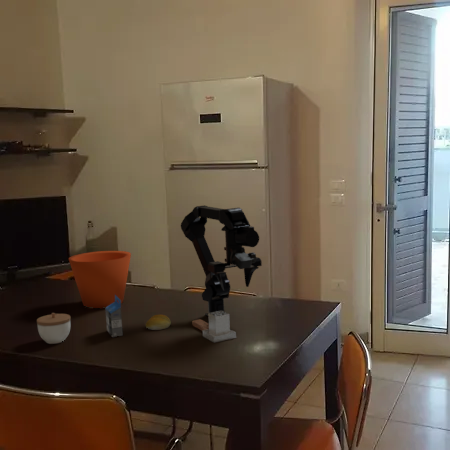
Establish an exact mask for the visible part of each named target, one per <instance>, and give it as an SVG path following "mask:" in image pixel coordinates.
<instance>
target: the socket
mask: <svg viewBox="0 0 450 450" xmlns="http://www.w3.org/2000/svg"><path fill="white" fill-rule="evenodd" d="M207 313H208V316H207V317H208V324H209V331H210V332H212V333H214V334H216V335H218V334H223V333H228V332H230V329H231V327H230V325H231V323H230V320H231V319H230V313H228V312H226V311H225V310H224V311H222V310H221V311H216V312H211V313H209V312H207Z"/></svg>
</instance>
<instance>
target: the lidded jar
mask: <svg viewBox="0 0 450 450" xmlns="http://www.w3.org/2000/svg"><path fill="white" fill-rule="evenodd" d="M36 324H37V325H36V326H37V331H38V334H39V337H40V338H41V339H42V340H43V341H44V342H45V343H46V344H49V345H53V344H60V343H63V342H65V341H66V339H67V337H68V336H69V334H70V331H71V328H72V327H71V315H70V314H67V313H56V312H51V314H47V315H43V316H40V317H38V318H37V319H36ZM64 340H65V341H64ZM62 341H63V342H62Z"/></svg>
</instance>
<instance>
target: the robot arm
mask: <svg viewBox="0 0 450 450" xmlns="http://www.w3.org/2000/svg"><path fill="white" fill-rule="evenodd" d="M208 219H210V220H215V221H219V224H222V225H223V227H222V228H221V230H220V231H222V232H224V234H225V235H224V236H225V246H224V247H223V250H224V251H225V254H226V255H225V257H226V258H224V262H222V261H215V259H214V257H213V254H212V252H211V249H210V247H209V245H208V242H207V241H206V237H205V235H206V234H205V233H206V225H207V223H208ZM180 229H181V231H182V233H183V234H184V237H185V238H187V240H189V241H190V242H191V243H192V245H193V248H194V249H195V252H196V255H197V257H198V259H199V262H200V265H201V267H202V269H203V272H204V274H205V280H204V286H205V288H204V291H202V294H201V298H202V300H203V301H204V302H207V306H208V307H207V308H208V309H207V311H208V312H206V313H204V314H205V316H207V317H208V313H211V312H216V311H221V310H222V311H224V312H225V302H224V299H228V298H229V296H230V291H231V284H230V280H229V278H228V275H227V272H225V271H226V269H231V268H235V267H237V268H238V269H239V270H243V273H244V283H245V287H246V288H249V286H250V284H251V280H252V277H253V274H254V272H255V271H256V270H258V269H259V268H260V267H262V266H263V263H262V259H261V258H260V257H257V255H256V253H255V252H249V253H246V249H245V247H249V248H255V247H256V246H257V245H258V244H259V242H260V235H259V233H258V232H257V230H255V226H251V224H250V222H249V220H248V219H247V217H246V214H245V212H244V211H243V209H242V208H241V207H232V208H221V207H220V208H219V207H214V206H208V205H204V204H203V205H196V206H195V207H193V209H192V210H191V211H190V212H189V213H188V214H187V215H185V216H184V218H183V220H181V223H180Z"/></svg>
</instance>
